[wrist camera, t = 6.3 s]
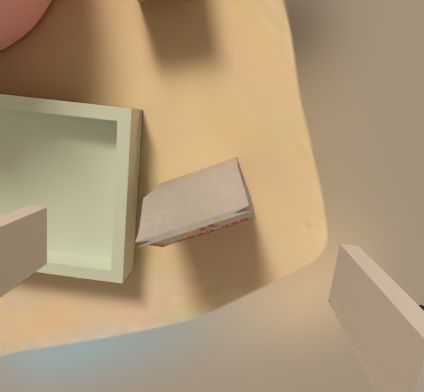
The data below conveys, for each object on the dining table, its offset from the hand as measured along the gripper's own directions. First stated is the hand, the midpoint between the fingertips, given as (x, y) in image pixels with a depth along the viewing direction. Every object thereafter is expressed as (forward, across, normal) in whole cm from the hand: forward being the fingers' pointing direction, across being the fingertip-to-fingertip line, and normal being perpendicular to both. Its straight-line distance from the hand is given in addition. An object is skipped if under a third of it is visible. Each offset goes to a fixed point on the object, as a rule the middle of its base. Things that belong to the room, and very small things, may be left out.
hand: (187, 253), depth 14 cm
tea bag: (+14, 0, 0) cm, 14 cm away
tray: (+14, -14, -1) cm, 20 cm away
